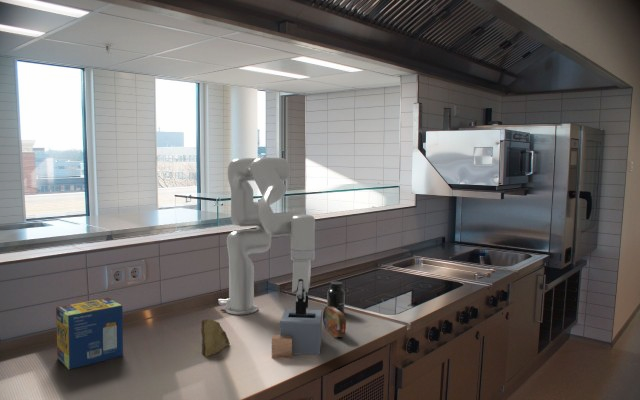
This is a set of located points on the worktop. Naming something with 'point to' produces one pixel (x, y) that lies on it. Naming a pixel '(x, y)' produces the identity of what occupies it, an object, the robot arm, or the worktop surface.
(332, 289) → the supplement bottle
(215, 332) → the rock
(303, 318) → the blue-grey block with hole
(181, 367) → the worktop surface
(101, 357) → the protein box
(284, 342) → the brown wooden square slab
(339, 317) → the tin
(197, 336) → the worktop surface
